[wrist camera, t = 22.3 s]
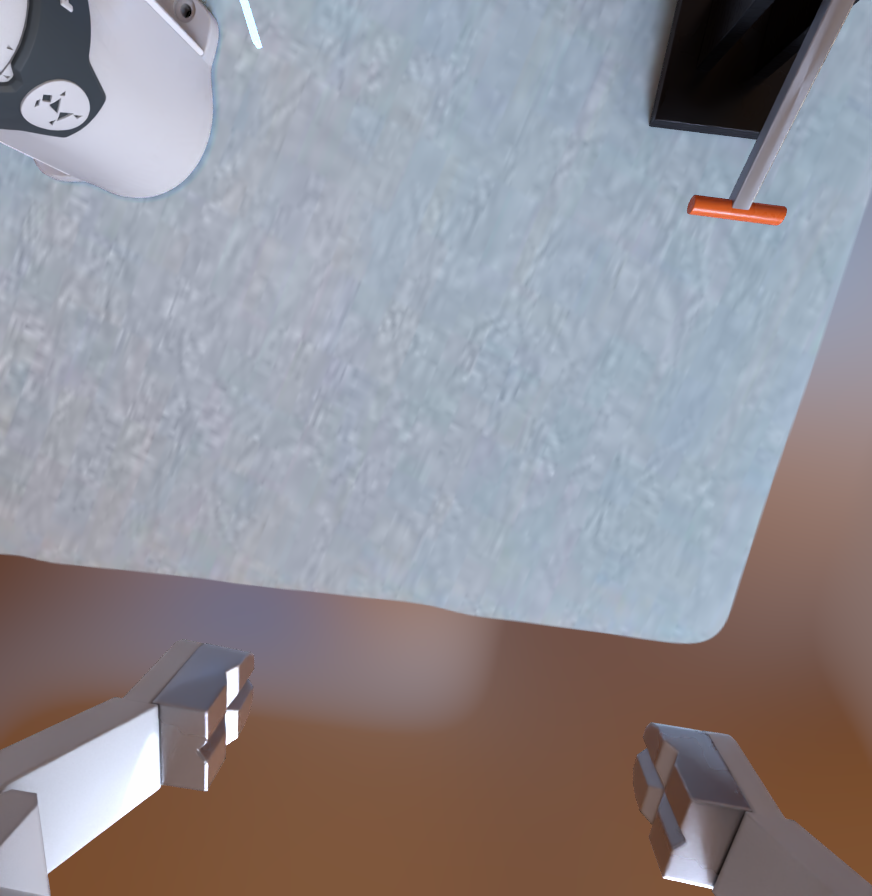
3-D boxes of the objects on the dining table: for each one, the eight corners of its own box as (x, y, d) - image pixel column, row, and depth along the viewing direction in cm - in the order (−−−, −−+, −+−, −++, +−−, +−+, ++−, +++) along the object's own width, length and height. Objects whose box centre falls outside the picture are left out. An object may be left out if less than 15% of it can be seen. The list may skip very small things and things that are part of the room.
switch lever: (768, 219, 30) (783, 231, 28) (682, 208, 30) (692, 219, 29) (988, -186, 19) (1034, -207, 18) (851, -199, 19) (883, -221, 18)
